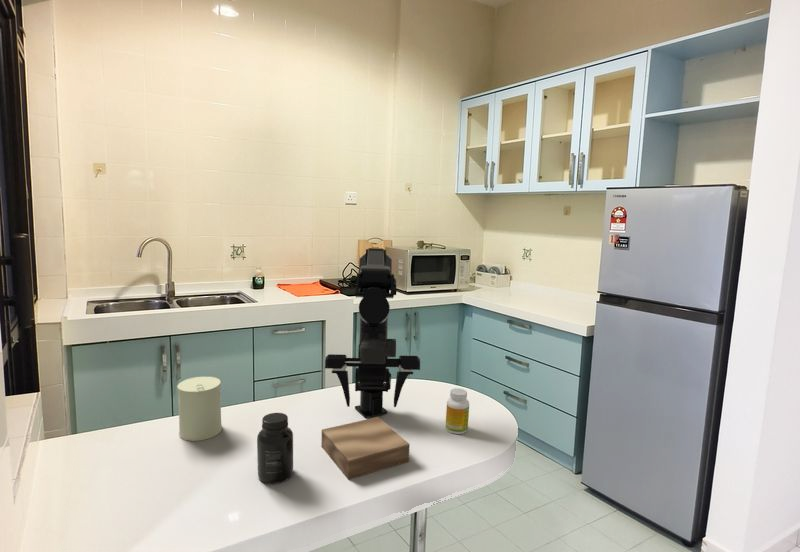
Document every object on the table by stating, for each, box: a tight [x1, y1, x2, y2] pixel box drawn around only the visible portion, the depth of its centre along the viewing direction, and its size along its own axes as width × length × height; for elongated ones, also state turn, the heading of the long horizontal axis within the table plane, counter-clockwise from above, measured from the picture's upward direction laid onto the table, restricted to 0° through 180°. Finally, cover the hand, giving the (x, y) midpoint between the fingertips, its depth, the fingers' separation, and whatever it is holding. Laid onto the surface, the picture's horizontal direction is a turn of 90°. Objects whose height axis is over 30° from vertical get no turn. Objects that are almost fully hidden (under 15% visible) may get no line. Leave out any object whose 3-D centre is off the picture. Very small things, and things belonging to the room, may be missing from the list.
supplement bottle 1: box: [256, 412, 294, 485], centre depth 93 cm, size 7×7×12 cm
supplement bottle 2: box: [445, 387, 470, 435], centre depth 115 cm, size 5×5×10 cm
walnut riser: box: [321, 416, 411, 480], centre depth 103 cm, size 14×14×4 cm
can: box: [176, 376, 223, 442], centre depth 109 cm, size 9×9×12 cm
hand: (371, 406), depth 95 cm, fingers open, 9 cm apart
